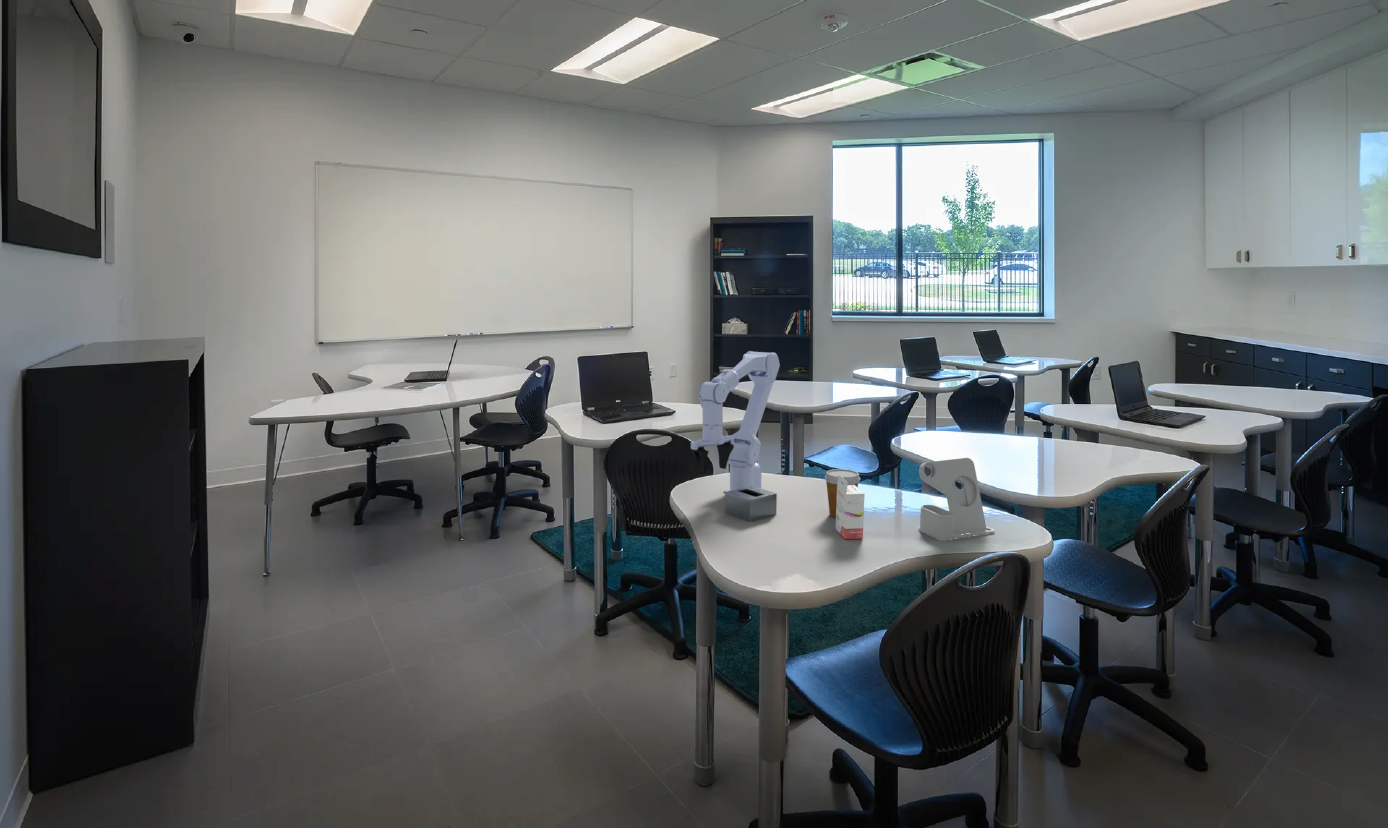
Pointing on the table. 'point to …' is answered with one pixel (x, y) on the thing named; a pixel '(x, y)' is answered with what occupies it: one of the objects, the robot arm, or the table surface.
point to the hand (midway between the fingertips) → (712, 470)
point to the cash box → (750, 503)
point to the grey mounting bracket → (953, 501)
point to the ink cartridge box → (849, 510)
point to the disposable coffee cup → (832, 482)
